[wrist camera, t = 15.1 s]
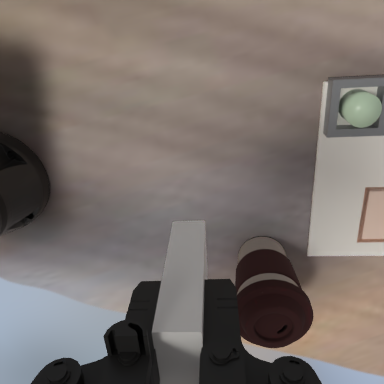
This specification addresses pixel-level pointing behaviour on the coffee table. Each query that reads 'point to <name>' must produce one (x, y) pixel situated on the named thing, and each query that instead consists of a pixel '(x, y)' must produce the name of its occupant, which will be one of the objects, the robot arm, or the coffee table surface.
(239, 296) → the coffee cup
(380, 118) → the button housing
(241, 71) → the coffee table surface
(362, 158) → the sheet
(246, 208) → the coffee table surface
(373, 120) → the button
